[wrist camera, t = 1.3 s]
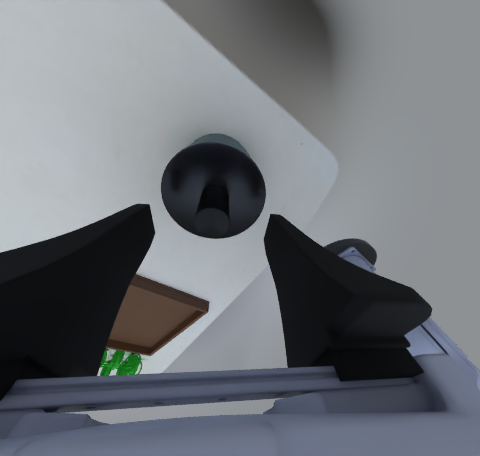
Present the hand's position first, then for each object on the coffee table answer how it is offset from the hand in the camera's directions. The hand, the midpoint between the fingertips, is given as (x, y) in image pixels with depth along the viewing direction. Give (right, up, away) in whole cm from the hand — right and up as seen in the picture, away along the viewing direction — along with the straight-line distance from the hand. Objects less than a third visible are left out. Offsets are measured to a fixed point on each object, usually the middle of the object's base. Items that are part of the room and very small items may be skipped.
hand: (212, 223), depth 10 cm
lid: (0, +2, +3) cm, 4 cm away
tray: (-21, -18, +24) cm, 36 cm away
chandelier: (-32, -34, +35) cm, 58 cm away
